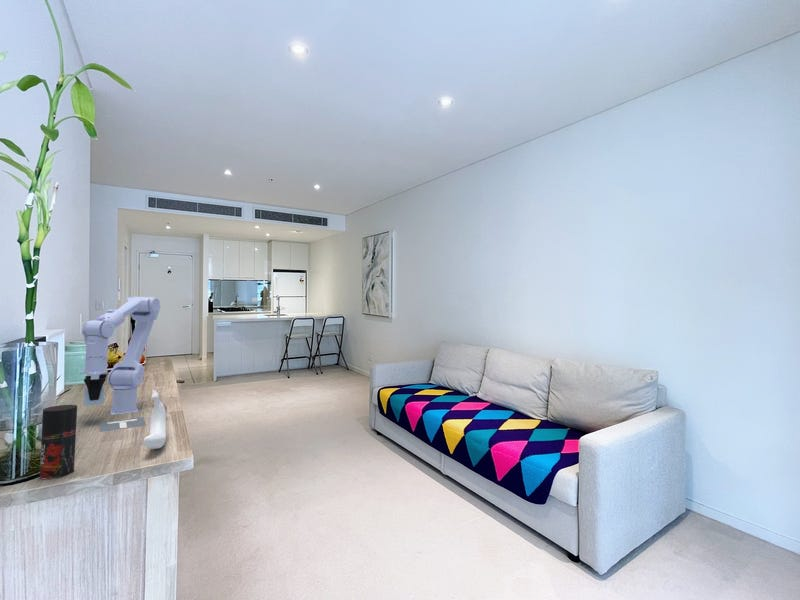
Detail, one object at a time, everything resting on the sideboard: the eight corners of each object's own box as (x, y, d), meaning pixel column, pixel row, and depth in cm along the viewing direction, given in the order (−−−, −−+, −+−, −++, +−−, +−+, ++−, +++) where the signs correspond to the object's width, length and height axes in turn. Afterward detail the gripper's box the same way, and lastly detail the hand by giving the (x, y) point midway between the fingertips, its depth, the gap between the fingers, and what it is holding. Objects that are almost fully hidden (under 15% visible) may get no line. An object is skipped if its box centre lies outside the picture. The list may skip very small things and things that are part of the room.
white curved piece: (141, 460, 96) (144, 402, 97) (147, 438, 113) (149, 388, 113) (164, 457, 99) (166, 400, 99) (166, 436, 115) (168, 387, 116)
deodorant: (80, 469, 91) (84, 405, 91) (55, 480, 85) (59, 411, 85) (58, 467, 91) (61, 404, 92) (31, 478, 85) (35, 410, 86)
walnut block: (152, 405, 132) (164, 404, 134) (152, 420, 131) (164, 418, 134) (154, 408, 128) (166, 407, 130) (153, 423, 127) (165, 422, 130)
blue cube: (84, 402, 126) (85, 387, 126) (103, 400, 129) (104, 385, 129) (83, 405, 122) (84, 389, 122) (103, 403, 125) (104, 388, 125)
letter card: (99, 423, 126) (99, 422, 126) (143, 418, 133) (143, 416, 133) (99, 433, 116) (99, 431, 116) (146, 427, 123) (146, 425, 123)
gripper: (82, 355, 129) (80, 395, 129) (79, 359, 117) (76, 404, 117) (108, 354, 133) (106, 393, 133) (108, 358, 122) (105, 401, 121)
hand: (94, 398), depth 125 cm, fingers closed on blue cube, 5 cm apart
